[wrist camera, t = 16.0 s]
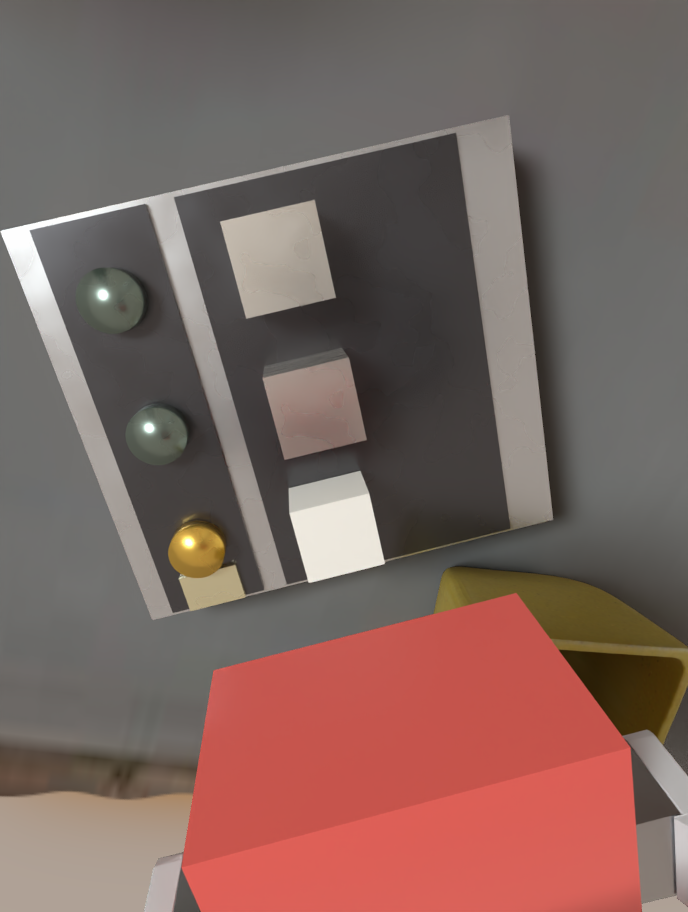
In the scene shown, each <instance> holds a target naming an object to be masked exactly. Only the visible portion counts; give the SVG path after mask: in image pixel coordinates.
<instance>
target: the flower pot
mask: <svg viewBox="0 0 688 912" xmlns="http://www.w3.org/2000/svg"><path fill="white" fill-rule="evenodd" d="M514 593H517V594H518V596H519V597H520V598H521V600H522V601H523V603H524V604H525V605H526V607H527V608H528V609H529V611H530V612H531V613H532V615H533V616H534V617H535V619H536V620H537V622H538V623H539V624H540V626H541V627H542V628H543V630H544V631H545V632H546V634H547V635H548V636H549V638H550V639H551V640H552V642H553V643H554V645H555V646H556V647H557V649H558V650H559V651H560V653H561V654H562V655H563V657H564V658H565V659H566V661H567V662H568V664H569V665H570V666H571V668H572V669H573V670H574V672H575V673H576V674H577V676H578V677H579V678H580V680H581V681H582V682H583V684H584V685H585V687H586V688H587V689H588V691H589V692H590V693H591V695H592V696H593V697H594V699H595V700H596V701H597V703H598V704H599V706H600V707H601V708H602V710H603V711H604V712H605V714H606V715H607V716H608V718H609V719H610V720H611V722H612V723H613V725H614V726H615V727H616V729H617V730H618V731H619V733H620V734H621V735H622V736H624V735H628V734H632V733H636V732H639V731H643V730H649V731H650V732H652V733H653V734H654V735H655V736H656V737H657V738H658V740H659V741H660V742H661V743H662V745H663V744H664V742H665V739H666V736H667V734H668V731H669V729H670V727H671V724H672V722H673V720H674V718H675V716H676V713H677V711H678V709H679V706H680V704H681V701H682V699H683V696H684V694H685V691H686V688H687V686H688V646H686V645H685V644H683V643H682V642H681V641H679V640H678V639H676V638H675V637H673V636H672V635H670V634H669V633H668V632H666V631H665V630H663V629H662V628H660V627H659V626H657V625H656V624H655V623H653V622H652V621H650V620H649V619H647V618H646V617H644V616H643V615H641V614H640V613H638V612H637V611H636V610H634V609H632V608H631V607H629V606H628V605H626V604H625V603H623V602H622V601H620V600H619V599H617V598H616V597H614V596H612V595H611V594H609V593H607V592H605V591H603V590H601V589H599V588H596V587H594V586H591V585H589V584H586V583H583V582H579V581H575V580H572V579H567V578H562V577H557V576H550V575H542V574H534V573H522V572H511V571H500V570H489V569H479V568H469V567H450V568H447V569H446V570H445V571H444V573H443V575H442V578H441V582H440V587H439V591H438V596H437V601H436V605H435V610H434V614H436V613H440V612H444V611H448V610H452V609H456V608H459V607H463V606H467V605H471V604H475V603H479V602H483V601H487V600H491V599H495V598H499V597H502V596H506V595H510V594H514Z"/></svg>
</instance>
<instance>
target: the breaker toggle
mask: <svg viewBox="0 0 688 912" xmlns="http://www.w3.org/2000/svg"><path fill="white" fill-rule="evenodd" d="M289 514H290V517H291V521H292V524H293V528H294V532H295V535H296V539H297V543H298V546H299V550H300V553H301V557H302V561H303V564H304V568H305V571H306V575H307V579H308V582H309V583H311V582H315V581H319V580H323V579H327V578H331V577H335V576H339V575H343V574H347V573H351V572H355V571H359V570H363V569H367V568H371V567H375V566H379V565H383V564H385V562H384V557H383V553H382V548H381V544H380V539H379V535H378V530H377V526H376V521H375V517H374V512H373V508H372V503H371V499H370V495H369V491H368V489H367V486H366V484H365V481H364V479H363V476H362V474H361V471H357V472H353V473H349V474H345V475H341V476H337V477H333V478H328V479H324V480H320V481H316V482H312V483H308V484H304V485H300V486H296V487H292V488H289Z"/></svg>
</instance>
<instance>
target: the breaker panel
mask: <svg viewBox="0 0 688 912" xmlns="http://www.w3.org/2000/svg"><path fill="white" fill-rule="evenodd" d="M1 234H2V236H3V239H4V241H5V244H6V246H7V249H8V252H9V254H10V257H11V259H12V262H13V264H14V267H15V270H16V272H17V275H18V277H19V280H20V282H21V285H22V287H23V290H24V293H25V295H26V298H27V300H28V303H29V305H30V308H31V310H32V313H33V316H34V318H35V321H36V323H37V326H38V328H39V331H40V333H41V336H42V339H43V341H44V344H45V346H46V349H47V351H48V354H49V357H50V359H51V362H52V364H53V367H54V369H55V372H56V374H57V377H58V380H59V382H60V385H61V387H62V390H63V392H64V395H65V397H66V400H67V403H68V405H69V408H70V410H71V413H72V415H73V418H74V421H75V423H76V426H77V428H78V431H79V433H80V436H81V438H82V441H83V444H84V446H85V449H86V451H87V454H88V456H89V459H90V461H91V464H92V467H93V469H94V472H95V474H96V477H97V479H98V482H99V484H100V487H101V490H102V492H103V495H104V497H105V500H106V502H107V505H108V508H109V510H110V513H111V515H112V518H113V520H114V523H115V525H116V528H117V531H118V533H119V536H120V538H121V541H122V543H123V546H124V548H125V551H126V554H127V556H128V559H129V561H130V564H131V566H132V569H133V571H134V574H135V577H136V579H137V582H138V584H139V587H140V589H141V592H142V595H143V597H144V600H145V602H146V605H147V607H148V610H149V612H150V615H151V618H152V620H155V619H159V618H163V617H167V616H171V615H175V614H179V613H183V612H187V611H193V610H197V609H201V608H205V607H209V606H213V605H217V604H221V603H225V602H229V601H233V600H237V599H241V598H245V597H246V596H250V595H254V594H258V593H262V592H266V591H270V590H274V589H278V588H282V587H286V586H290V585H294V584H298V583H302V582H306V581H308V579H307V575H306V571H305V568H304V564H303V561H302V557H301V553H300V550H299V546H298V543H297V539H296V535H295V532H294V528H293V524H292V521H291V517H290V514H289V488H292V487H296V486H300V485H304V484H308V483H312V482H316V481H320V480H324V479H328V478H333V477H337V476H341V475H345V474H349V473H353V472H357V471H361V474H362V476H363V479H364V481H365V484H366V486H367V489H368V491H369V495H370V499H371V503H372V508H373V512H374V517H375V521H376V526H377V530H378V535H379V539H380V544H381V548H382V553H383V557H384V562H386V561H390V560H394V559H398V558H402V557H406V556H410V555H414V554H418V553H422V552H426V551H430V550H434V549H438V548H442V547H446V546H450V545H454V544H458V543H462V542H466V541H470V540H474V539H478V538H482V537H486V536H490V535H494V534H498V533H502V532H506V531H510V530H514V529H518V528H522V527H526V526H530V525H534V524H538V523H542V522H546V521H550V520H553V514H552V504H551V495H550V486H549V477H548V468H547V459H546V450H545V440H544V431H543V422H542V413H541V404H540V395H539V386H538V377H537V367H536V358H535V349H534V340H533V331H532V322H531V313H530V303H529V294H528V285H527V276H526V267H525V258H524V249H523V239H522V230H521V221H520V212H519V203H518V194H517V185H516V175H515V166H514V157H513V148H512V139H511V130H510V121H509V115H507V116H502V117H498V118H494V119H489V120H485V121H481V122H476V123H472V124H467V125H463V126H459V127H454V128H450V129H445V130H441V131H437V132H432V133H428V134H424V135H419V136H415V137H410V138H406V139H402V140H397V141H393V142H389V143H384V144H380V145H375V146H371V147H367V148H362V149H358V150H354V151H349V152H345V153H340V154H336V155H332V156H327V157H323V158H318V159H314V160H310V161H305V162H301V163H297V164H292V165H288V166H283V167H279V168H275V169H270V170H266V171H262V172H257V173H253V174H248V175H244V176H240V177H235V178H231V179H227V180H222V181H218V182H213V183H209V184H205V185H200V186H196V187H191V188H187V189H183V190H178V191H174V192H170V193H165V194H161V195H156V196H152V197H148V198H143V199H139V200H135V201H130V202H126V203H121V204H117V205H113V206H108V207H104V208H100V209H95V210H91V211H86V212H82V213H78V214H73V215H69V216H64V217H60V218H56V219H51V220H47V221H43V222H38V223H34V224H29V225H25V226H21V227H16V228H12V229H8V230H3V231H1Z"/></svg>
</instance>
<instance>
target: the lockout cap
mask: <svg viewBox="0 0 688 912" xmlns="http://www.w3.org/2000/svg"><path fill="white" fill-rule="evenodd" d="M181 868H182V870H183V873H184V875H185V877H186V879H187V882H188V884H189V886H190V888H191V890H192V893H193V895H194V897H195V899H196V902H197V904H198V906H199V908H200V911H201V912H642V905H641V891H640V877H639V862H638V848H637V834H636V819H635V805H634V791H633V776H632V762H631V748H630V746H629V745H628V743H627V742H626V741H625V739H624V738H623V737H622V735H621V734H620V733H619V731H618V730H617V729H616V727H615V726H614V725H613V723H612V722H611V720H610V719H609V718H608V716H607V715H606V714H605V712H604V711H603V710H602V708H601V707H600V706H599V704H598V703H597V701H596V700H595V699H594V697H593V696H592V695H591V693H590V692H589V691H588V689H587V688H586V687H585V685H584V684H583V682H582V681H581V680H580V678H579V677H578V676H577V674H576V673H575V672H574V670H573V669H572V668H571V666H570V665H569V664H568V662H567V661H566V659H565V658H564V657H563V655H562V654H561V653H560V651H559V650H558V649H557V647H556V646H555V645H554V643H553V642H552V640H551V639H550V638H549V636H548V635H547V634H546V632H545V631H544V630H543V628H542V627H541V626H540V624H539V623H538V622H537V620H536V619H535V617H534V616H533V615H532V613H531V612H530V611H529V609H528V608H527V607H526V605H525V604H524V603H523V601H522V600H521V598H520V597H519V596H518V594H517V593H514V594H510V595H506V596H502V597H499V598H495V599H491V600H487V601H483V602H479V603H475V604H471V605H467V606H463V607H459V608H456V609H452V610H448V611H444V612H440V613H436V614H432V615H428V616H424V617H420V618H416V619H413V620H409V621H405V622H401V623H397V624H393V625H389V626H385V627H381V628H377V629H373V630H370V631H366V632H362V633H358V634H354V635H350V636H346V637H342V638H338V639H334V640H331V641H327V642H323V643H319V644H315V645H311V646H307V647H303V648H299V649H295V650H291V651H288V652H284V653H280V654H276V655H272V656H268V657H264V658H260V659H256V660H252V661H248V662H245V663H241V664H237V665H233V666H229V667H225V668H221V669H217V670H214V671H213V677H212V683H211V689H210V695H209V701H208V708H207V714H206V720H205V726H204V732H203V738H202V744H201V750H200V756H199V762H198V769H197V775H196V781H195V787H194V793H193V799H192V805H191V811H190V818H189V824H188V830H187V836H186V842H185V848H184V854H183V860H182V866H181Z"/></svg>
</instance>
